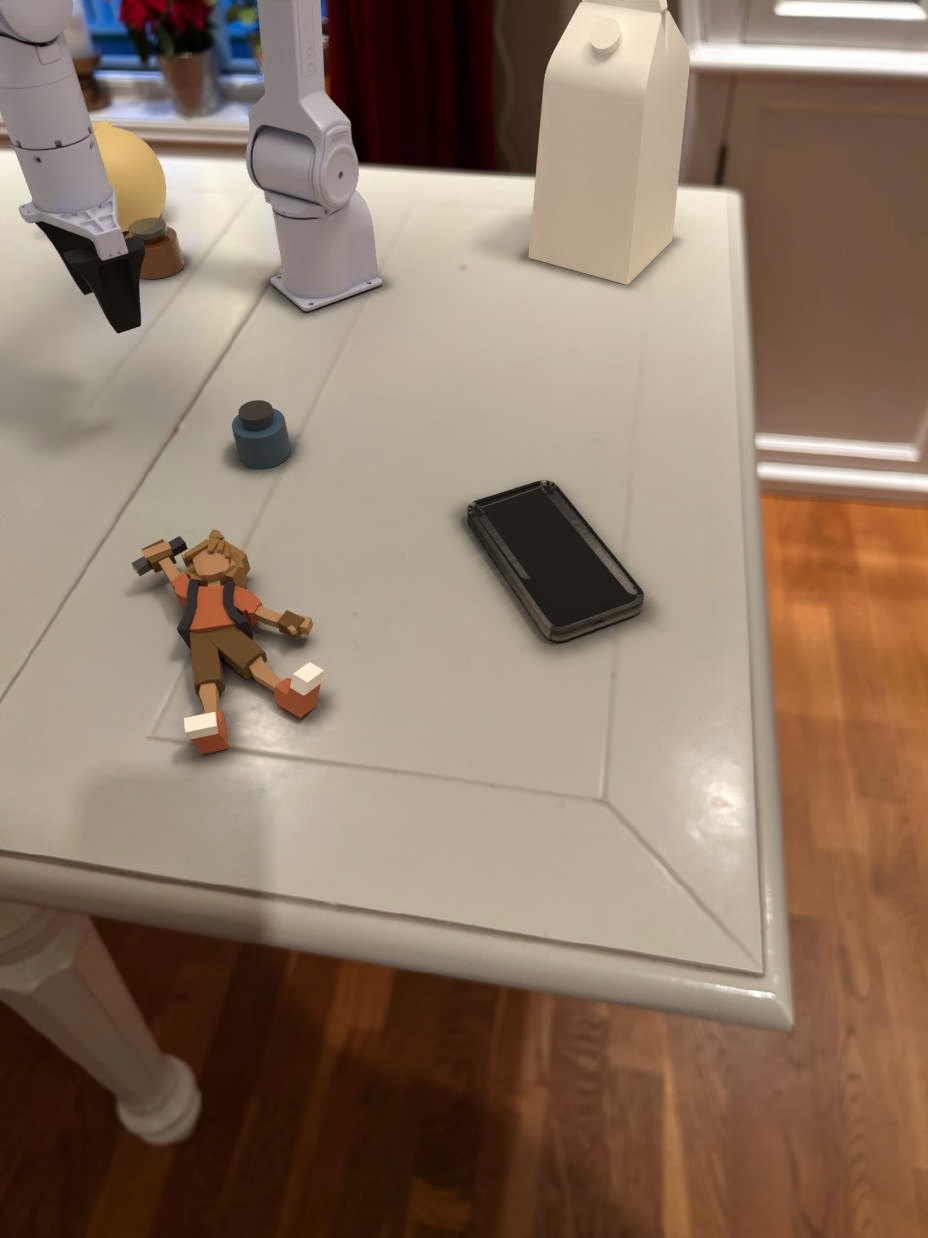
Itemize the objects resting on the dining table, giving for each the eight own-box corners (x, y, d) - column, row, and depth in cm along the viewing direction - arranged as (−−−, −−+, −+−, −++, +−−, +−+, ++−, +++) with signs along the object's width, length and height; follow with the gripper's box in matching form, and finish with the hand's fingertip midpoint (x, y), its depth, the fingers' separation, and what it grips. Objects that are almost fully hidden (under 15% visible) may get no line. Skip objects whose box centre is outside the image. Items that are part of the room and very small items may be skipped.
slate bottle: (275, 430, 80) (266, 388, 77) (300, 455, 78) (291, 412, 75) (230, 449, 79) (219, 406, 75) (253, 475, 76) (243, 432, 73)
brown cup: (171, 249, 104) (161, 209, 100) (192, 268, 101) (182, 227, 97) (124, 264, 101) (112, 223, 98) (144, 284, 98) (132, 242, 95)
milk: (672, 240, 103) (714, -39, 83) (627, 284, 96) (662, -6, 77) (577, 216, 107) (596, -54, 88) (528, 257, 101) (537, -24, 81)
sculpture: (94, 199, 113) (64, 104, 105) (187, 203, 112) (164, 107, 104) (54, 242, 105) (18, 143, 97) (153, 247, 104) (125, 147, 96)
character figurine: (130, 742, 55) (120, 522, 65) (152, 778, 59) (139, 566, 69) (329, 700, 56) (289, 492, 67) (337, 738, 60) (298, 537, 71)
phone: (550, 476, 73) (650, 599, 64) (549, 487, 74) (648, 610, 65) (461, 504, 71) (550, 635, 62) (461, 515, 72) (550, 646, 63)
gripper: (-32, 117, 68) (35, 288, 78) (28, 182, 60) (94, 363, 70) (60, 96, 71) (114, 264, 81) (130, 155, 63) (180, 333, 73)
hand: (110, 308), depth 76 cm, fingers open, 7 cm apart
